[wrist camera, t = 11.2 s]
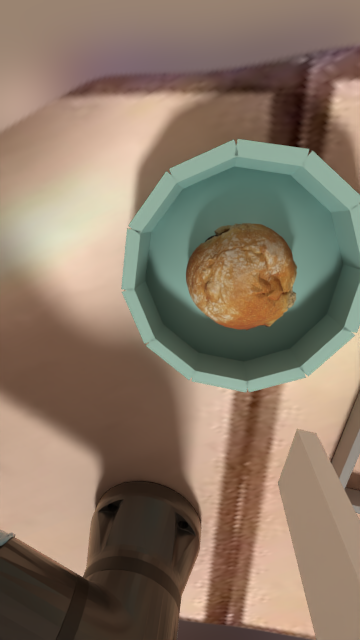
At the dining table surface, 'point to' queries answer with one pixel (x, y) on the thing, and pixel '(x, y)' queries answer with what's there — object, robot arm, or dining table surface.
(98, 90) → the dining table surface
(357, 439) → the rectangular frame
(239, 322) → the bread roll
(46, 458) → the dining table surface
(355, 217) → the bowl
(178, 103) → the dining table surface
